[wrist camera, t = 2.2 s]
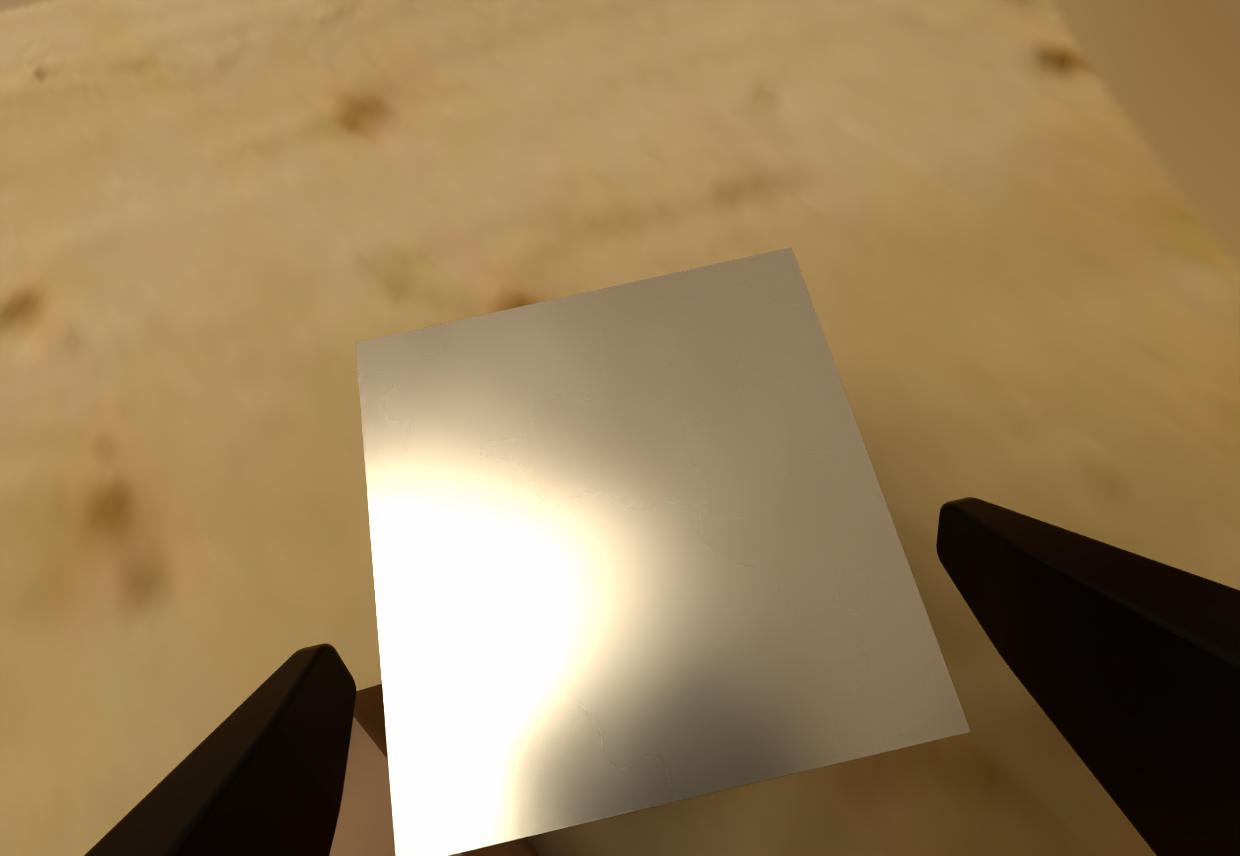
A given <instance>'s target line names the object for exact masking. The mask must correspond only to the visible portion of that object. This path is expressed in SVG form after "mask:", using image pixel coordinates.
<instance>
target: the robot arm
mask: <svg viewBox="0 0 1240 856" xmlns="http://www.w3.org/2000/svg"><path fill="white" fill-rule="evenodd" d="M936 546H937V553H938V557H939V559H940V561H941V563H942V565H943V566H944V568H945V570H946V571H947V573H948V574H949V576H950V578H951V579H952V581H953V582H954V584H955V585H956V587H957V589H958V590H959V592H960V593H961V595H962V596H963V598H964V600H965V601H966V603H967V604H968V606H969V607H970V609H971V611H972V612H973V614H974V615H975V617H976V618H977V620H978V622H979V623H980V625H981V626H982V628H983V630H984V631H985V633H986V634H987V636H988V637H989V639H990V640H991V642H992V643H993V645H994V646H995V648H996V649H997V651H998V652H999V654H1000V655H1001V657H1002V658H1003V659H1004V661H1005V662H1006V663H1007V665H1008V666H1009V667H1010V669H1011V670H1012V671H1013V673H1014V674H1015V675H1016V676H1017V678H1018V679H1019V680H1020V682H1021V683H1022V684H1023V685H1024V687H1025V688H1026V689H1027V690H1028V692H1029V693H1030V694H1031V696H1032V697H1033V698H1034V699H1035V701H1036V702H1037V703H1038V705H1039V706H1040V707H1041V708H1042V710H1043V711H1044V712H1045V713H1046V715H1047V716H1048V717H1049V719H1050V720H1051V721H1052V722H1053V724H1054V725H1055V726H1056V728H1057V729H1058V730H1059V731H1060V733H1061V734H1062V735H1063V736H1064V738H1065V739H1066V740H1067V742H1068V743H1069V744H1070V745H1071V747H1072V748H1073V749H1074V751H1075V752H1076V753H1077V754H1078V756H1079V757H1080V758H1081V759H1082V761H1083V762H1084V763H1085V765H1086V766H1087V767H1088V768H1089V770H1090V771H1091V772H1092V774H1093V775H1094V776H1095V777H1096V779H1097V780H1098V781H1099V782H1100V784H1101V785H1102V786H1103V788H1104V789H1105V790H1106V791H1107V793H1108V794H1109V795H1110V797H1111V798H1112V799H1113V800H1114V802H1115V803H1116V804H1117V806H1118V807H1119V808H1120V809H1121V811H1122V812H1123V813H1124V814H1125V816H1126V817H1127V818H1128V820H1129V821H1130V822H1131V823H1132V825H1133V826H1134V827H1135V829H1136V830H1137V831H1138V832H1139V834H1140V835H1141V836H1142V837H1143V839H1144V840H1145V841H1146V843H1147V844H1148V845H1149V846H1150V848H1151V849H1152V850H1153V852H1154V853H1155V854H1156V855H1157V856H1240V590H1237V589H1234V588H1231V587H1228V586H1225V585H1223V584H1220V583H1217V582H1214V581H1211V580H1208V579H1206V578H1203V577H1200V576H1197V575H1194V574H1191V573H1188V572H1186V571H1183V570H1180V569H1177V568H1174V567H1171V566H1168V565H1166V564H1163V563H1160V562H1157V561H1154V560H1151V559H1148V558H1146V557H1143V556H1140V555H1137V554H1134V553H1131V552H1128V551H1126V550H1123V549H1120V548H1117V547H1114V546H1111V545H1108V544H1106V543H1103V542H1100V541H1097V540H1094V539H1091V538H1089V537H1086V536H1083V535H1080V534H1077V533H1074V532H1071V531H1069V530H1066V529H1063V528H1060V527H1057V526H1054V525H1051V524H1049V523H1046V522H1043V521H1040V520H1037V519H1034V518H1031V517H1029V516H1026V515H1023V514H1020V513H1017V512H1014V511H1011V510H1009V509H1006V508H1003V507H1000V506H997V505H994V504H991V503H989V502H986V501H983V500H980V499H977V498H972V497H969V498H963V499H959V500H954V501H950V502H947V503H945V504H943V506H942V507H941V509H940V515H939V525H938V534H937V544H936ZM355 703H356V685H355V682H354V679H353V677H352V675H351V674H350V672H349V671H348V669H347V667H346V666H345V664H344V662H343V661H342V659H341V658H340V656H339V654H338V653H337V651H336V649H335V648H334V647H333V646H332V645H330V644H320V645H315V646H311V647H306V648H303V649H300V650H298V651H297V652H295V653H294V654H293V655H292V656H291V657H290V658H289V659H288V660H287V661H286V662H285V663H284V664H283V665H282V666H281V667H280V668H279V669H277V670H276V671H275V672H274V673H273V674H272V675H271V676H270V677H269V678H268V679H267V680H266V681H265V682H264V683H263V684H262V685H261V686H260V687H259V688H258V689H257V690H256V691H255V692H254V693H253V694H252V695H250V696H249V697H248V698H247V699H246V700H245V701H244V702H243V703H242V704H241V705H240V706H239V707H238V708H237V709H236V710H235V711H234V712H233V713H232V714H231V715H230V716H229V717H228V718H227V719H226V720H225V721H224V722H222V723H221V724H220V725H219V726H218V727H217V728H216V729H215V730H214V731H213V732H212V733H211V734H210V735H209V736H208V737H207V738H206V739H205V740H204V741H203V742H202V743H201V744H200V745H199V746H198V747H196V748H195V749H194V750H193V751H192V752H191V753H190V754H189V755H188V756H187V757H186V758H185V759H184V760H183V761H182V762H181V763H180V764H179V765H178V766H177V767H176V768H175V769H174V770H173V771H172V772H171V773H169V774H168V775H167V776H166V777H165V778H164V779H163V780H162V781H161V782H160V783H159V784H158V785H157V786H156V787H155V788H154V789H153V790H152V791H151V792H150V793H149V794H148V795H147V796H146V797H145V798H144V799H142V800H141V801H140V802H139V803H138V804H137V805H136V806H135V807H134V808H133V809H132V810H131V811H130V812H129V813H128V814H127V815H126V816H125V817H124V818H123V819H122V820H121V821H120V822H119V823H118V824H117V825H115V826H114V827H113V828H112V829H111V830H110V831H109V832H108V833H107V834H106V835H105V836H104V837H103V838H102V839H101V840H100V841H99V842H98V843H97V844H96V845H95V846H94V847H93V848H92V849H91V850H89V851H88V852H87V853H86V854H85V855H84V856H329V855H330V851H331V847H332V843H333V838H334V834H335V830H336V826H337V821H338V817H339V812H340V807H341V801H342V795H343V789H344V782H345V775H346V768H347V761H348V753H349V746H350V739H351V732H352V725H353V717H354V710H355Z"/></svg>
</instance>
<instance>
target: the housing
mask: <svg viewBox="0 0 1240 856" xmlns="http://www.w3.org/2000/svg"><path fill="white" fill-rule="evenodd" d="M356 353H357V365H358V378H359V391H360V404H361V417H362V430H363V442H364V455H365V468H366V481H367V494H368V506H369V519H370V532H371V545H372V558H373V571H374V583H375V596H376V609H377V622H378V635H379V648H380V660H381V673H382V686H383V699H384V712H385V724H386V737H387V750H388V763H389V776H390V789H391V801H392V814H393V827H394V840H395V853H396V856H448V855H452V854H456V853H461V852H465V851H469V850H473V849H477V848H482V847H486V846H490V845H494V844H499V843H503V842H507V841H511V840H515V839H520V838H524V837H528V836H532V835H537V834H541V833H545V832H549V831H554V830H558V829H562V828H566V827H570V826H575V825H579V824H583V823H587V822H592V821H596V820H600V819H604V818H609V817H613V816H617V815H621V814H625V813H630V812H634V811H638V810H642V809H647V808H651V807H655V806H659V805H664V804H668V803H672V802H676V801H680V800H685V799H689V798H693V797H697V796H702V795H706V794H710V793H714V792H719V791H723V790H727V789H731V788H735V787H740V786H744V785H748V784H752V783H757V782H761V781H765V780H769V779H774V778H778V777H782V776H786V775H790V774H795V773H799V772H803V771H807V770H812V769H816V768H820V767H824V766H829V765H833V764H837V763H841V762H845V761H850V760H854V759H858V758H862V757H867V756H871V755H875V754H879V753H884V752H888V751H892V750H896V749H900V748H905V747H909V746H913V745H917V744H922V743H926V742H930V741H934V740H939V739H943V738H947V737H951V736H955V735H960V734H964V733H968V732H971V731H970V728H969V726H968V723H967V720H966V718H965V715H964V712H963V709H962V707H961V704H960V701H959V699H958V696H957V693H956V691H955V688H954V685H953V682H952V680H951V677H950V674H949V672H948V669H947V666H946V663H945V661H944V658H943V655H942V653H941V650H940V647H939V645H938V642H937V639H936V636H935V634H934V631H933V628H932V626H931V623H930V620H929V617H928V615H927V612H926V609H925V607H924V604H923V601H922V599H921V596H920V593H919V590H918V588H917V585H916V582H915V580H914V577H913V574H912V572H911V569H910V566H909V563H908V561H907V558H906V555H905V553H904V550H903V547H902V544H901V542H900V539H899V536H898V534H897V531H896V528H895V526H894V523H893V520H892V517H891V515H890V512H889V509H888V507H887V504H886V501H885V498H884V496H883V493H882V490H881V488H880V485H879V482H878V480H877V477H876V474H875V471H874V469H873V466H872V463H871V461H870V458H869V455H868V452H867V450H866V447H865V444H864V442H863V439H862V436H861V434H860V431H859V428H858V425H857V423H856V420H855V417H854V415H853V412H852V409H851V406H850V404H849V401H848V398H847V396H846V393H845V390H844V388H843V385H842V382H841V379H840V377H839V374H838V371H837V369H836V366H835V363H834V360H833V358H832V355H831V352H830V350H829V347H828V344H827V342H826V339H825V336H824V333H823V331H822V328H821V325H820V323H819V320H818V317H817V314H816V312H815V309H814V306H813V304H812V301H811V298H810V296H809V293H808V290H807V287H806V285H805V282H804V279H803V277H802V274H801V271H800V268H799V266H798V263H797V260H796V258H795V255H794V252H793V250H792V248H787V249H783V250H778V251H774V252H769V253H764V254H760V255H755V256H751V257H746V258H741V259H737V260H732V261H728V262H723V263H719V264H714V265H709V266H705V267H700V268H696V269H691V270H686V271H682V272H677V273H673V274H668V275H664V276H659V277H654V278H650V279H645V280H641V281H636V282H631V283H627V284H622V285H618V286H613V287H609V288H604V289H599V290H595V291H590V292H586V293H581V294H576V295H572V296H567V297H563V298H558V299H554V300H549V301H544V302H540V303H535V304H531V305H526V306H521V307H517V308H512V309H508V310H503V311H499V312H494V313H489V314H485V315H480V316H476V317H471V318H466V319H462V320H457V321H453V322H448V323H444V324H439V325H434V326H430V327H425V328H421V329H416V330H411V331H407V332H402V333H398V334H393V335H389V336H384V337H379V338H375V339H370V340H366V341H361V342H356Z"/></svg>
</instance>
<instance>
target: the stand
mask: <svg viewBox="0 0 1240 856" xmlns="http://www.w3.org/2000/svg"><path fill="white" fill-rule="evenodd" d="M329 856H396V853H395V840H394V827H393V814H392V801H391V789H390V776H389V763H388V750H387V737H386V724H385V712H384V699H383V686H382V684H380V685H377V686H373V687H370V688H366V689H363V690H359V691H356V703H355V710H354V717H353V725H352V732H351V739H350V746H349V753H348V761H347V768H346V775H345V782H344V789H343V795H342V801H341V807H340V812H339V817H338V821H337V826H336V830H335V834H334V838H333V843H332V847H331V851H330V855H329ZM448 856H538V855H537V853H536V852H535V851H534V850H533V849H532V847H531V846H530V845H529V844H528V842H527V841H526V840H525V839H524V838H520V839H515V840H511V841H507V842H503V843H499V844H494V845H490V846H486V847H482V848H477V849H473V850H469V851H465V852H461V853H456V854H452V855H448Z"/></svg>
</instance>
